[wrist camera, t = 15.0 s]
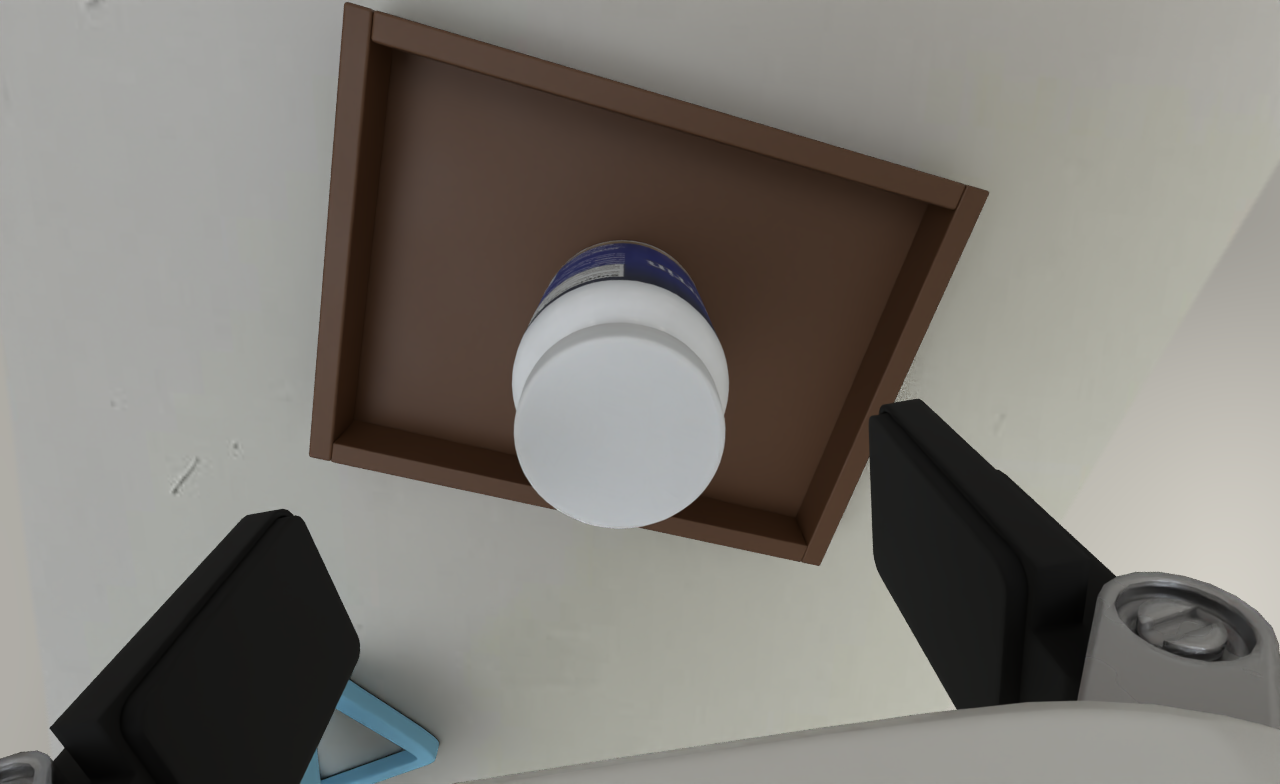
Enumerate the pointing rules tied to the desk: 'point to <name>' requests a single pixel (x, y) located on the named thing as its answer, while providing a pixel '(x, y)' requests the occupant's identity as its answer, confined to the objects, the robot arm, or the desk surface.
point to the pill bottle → (620, 389)
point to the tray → (596, 213)
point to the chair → (388, 725)
